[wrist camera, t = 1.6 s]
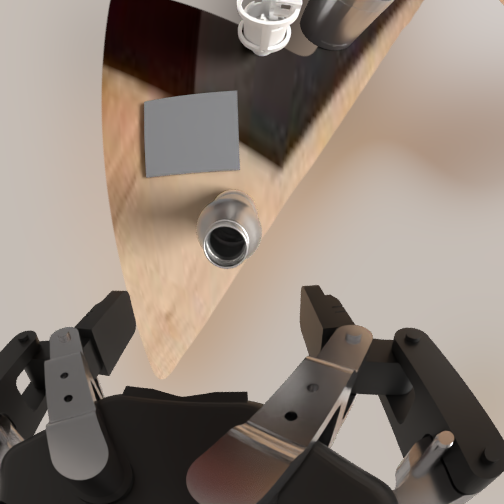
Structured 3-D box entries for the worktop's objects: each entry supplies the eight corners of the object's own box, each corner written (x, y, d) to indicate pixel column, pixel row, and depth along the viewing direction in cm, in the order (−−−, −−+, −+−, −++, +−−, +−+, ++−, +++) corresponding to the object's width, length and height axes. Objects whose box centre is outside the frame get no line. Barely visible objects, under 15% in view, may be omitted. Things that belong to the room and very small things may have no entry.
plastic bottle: (231, 240, 42) (219, 300, 23) (204, 205, 40) (168, 237, 21) (265, 215, 41) (283, 257, 22) (239, 179, 39) (233, 188, 20)
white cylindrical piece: (283, 68, 34) (303, 23, 20) (237, 65, 34) (233, 17, 20) (285, 33, 32) (302, -19, 18) (240, 30, 32) (238, -24, 18)
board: (146, 103, 35) (144, 101, 34) (237, 93, 35) (236, 90, 34) (148, 177, 39) (146, 177, 38) (239, 169, 39) (239, 169, 38)
